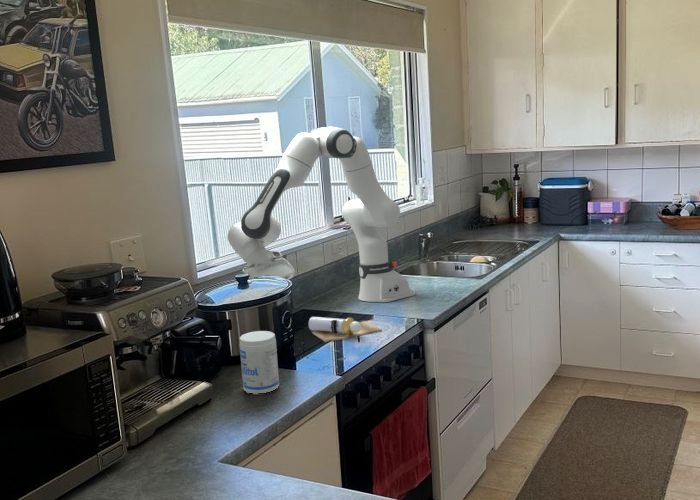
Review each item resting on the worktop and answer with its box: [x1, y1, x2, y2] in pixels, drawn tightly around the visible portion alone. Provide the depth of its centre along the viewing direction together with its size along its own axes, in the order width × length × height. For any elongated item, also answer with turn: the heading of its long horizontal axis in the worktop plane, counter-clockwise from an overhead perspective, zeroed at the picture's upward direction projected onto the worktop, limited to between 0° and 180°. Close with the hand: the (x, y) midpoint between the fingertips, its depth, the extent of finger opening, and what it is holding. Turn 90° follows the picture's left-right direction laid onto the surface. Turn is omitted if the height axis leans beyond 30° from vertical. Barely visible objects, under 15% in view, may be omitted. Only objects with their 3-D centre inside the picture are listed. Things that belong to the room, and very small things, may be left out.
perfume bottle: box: [307, 316, 361, 336], centre depth 226 cm, size 6×6×20 cm
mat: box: [311, 320, 383, 343], centre depth 229 cm, size 20×12×1 cm, turn 114°
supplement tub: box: [239, 330, 280, 395], centre depth 183 cm, size 10×10×15 cm
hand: (284, 291), depth 237 cm, fingers closed
